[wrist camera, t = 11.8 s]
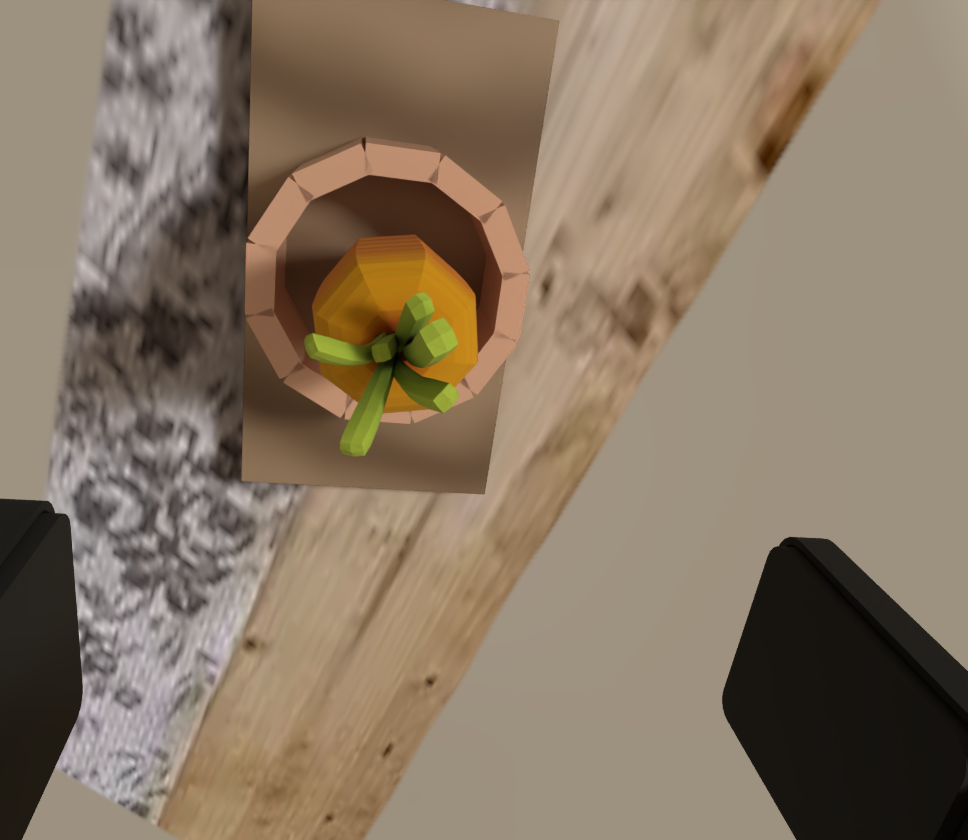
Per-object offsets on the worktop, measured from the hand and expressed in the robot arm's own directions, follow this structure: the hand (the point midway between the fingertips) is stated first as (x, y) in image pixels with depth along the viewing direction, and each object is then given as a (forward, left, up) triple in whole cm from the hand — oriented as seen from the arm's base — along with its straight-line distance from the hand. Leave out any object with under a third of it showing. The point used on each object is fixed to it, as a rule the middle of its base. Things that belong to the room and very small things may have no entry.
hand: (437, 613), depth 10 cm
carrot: (0, 0, -23) cm, 23 cm away
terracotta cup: (0, 0, -23) cm, 23 cm away
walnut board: (0, 0, -24) cm, 24 cm away
